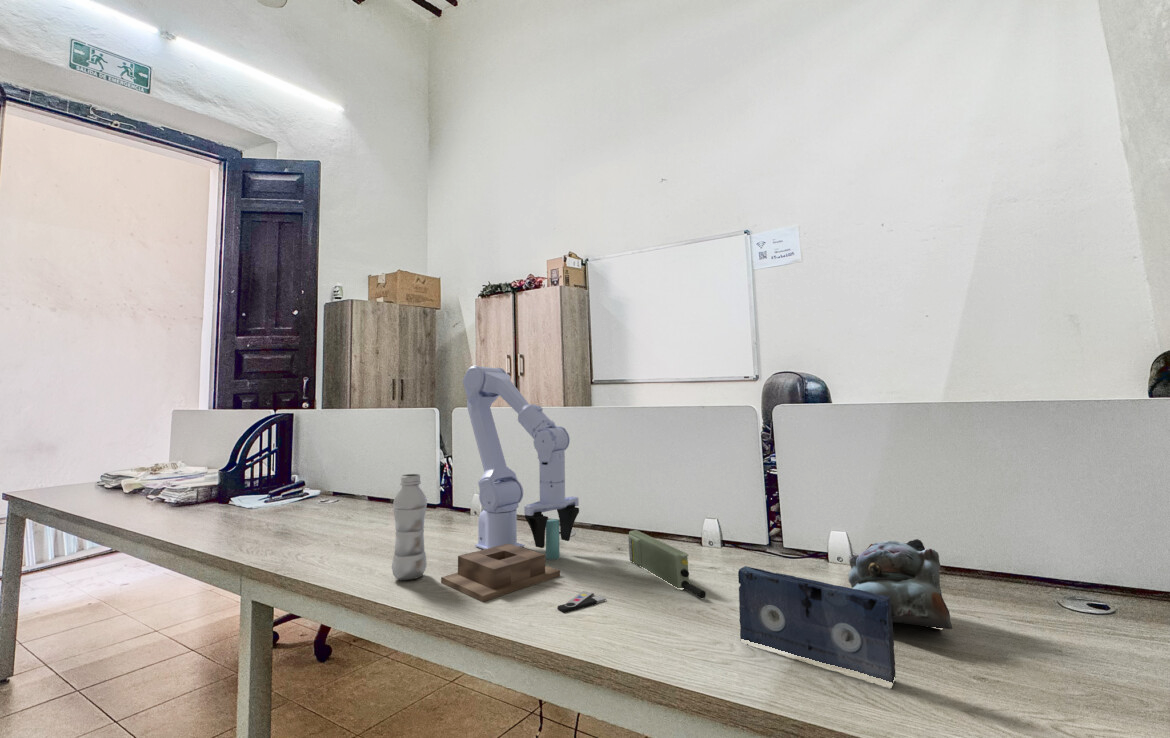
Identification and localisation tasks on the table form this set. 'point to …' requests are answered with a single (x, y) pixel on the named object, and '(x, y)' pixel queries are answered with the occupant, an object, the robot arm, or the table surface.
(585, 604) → the usb flash drive
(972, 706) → the table surface
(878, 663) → the vhs cassette tape
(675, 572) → the handheld radio
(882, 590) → the lucky cat figurine
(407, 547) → the plastic bottle
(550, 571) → the socket board
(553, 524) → the peg
